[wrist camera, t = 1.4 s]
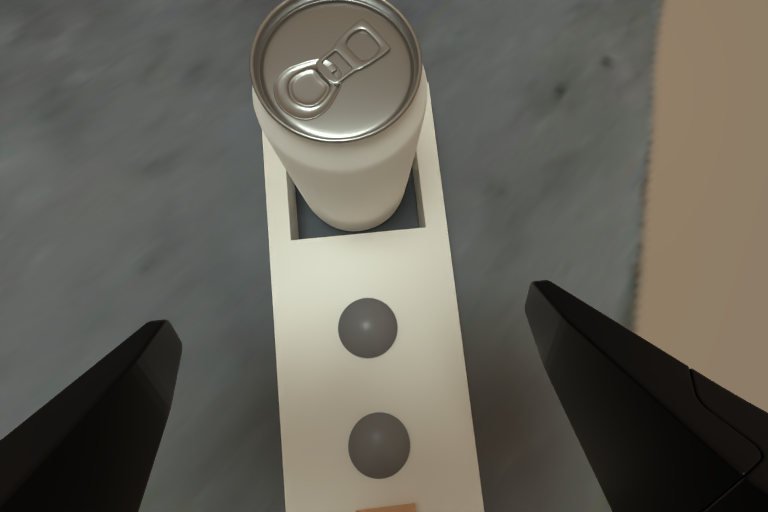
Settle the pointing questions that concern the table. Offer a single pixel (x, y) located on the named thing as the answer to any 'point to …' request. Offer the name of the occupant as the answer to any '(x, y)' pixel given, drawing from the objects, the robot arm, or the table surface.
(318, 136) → the can
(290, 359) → the control panel
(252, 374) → the table surface
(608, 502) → the robot arm
